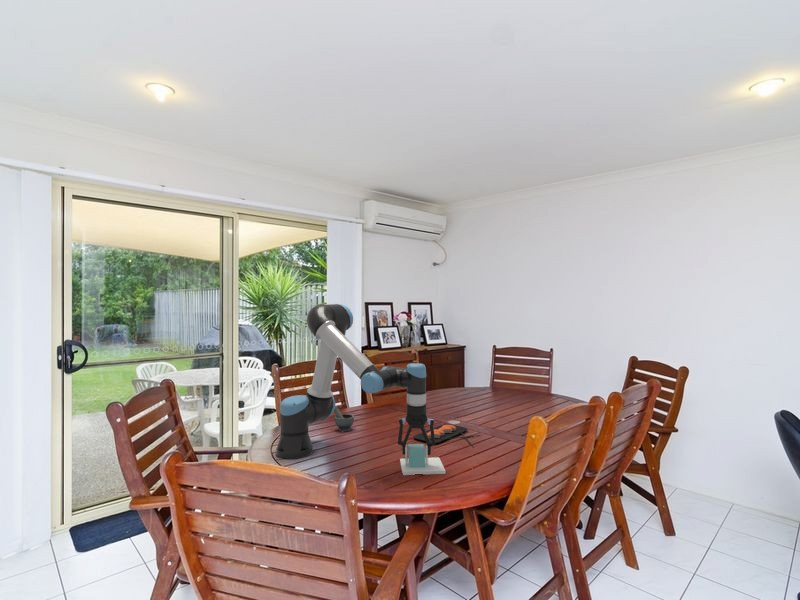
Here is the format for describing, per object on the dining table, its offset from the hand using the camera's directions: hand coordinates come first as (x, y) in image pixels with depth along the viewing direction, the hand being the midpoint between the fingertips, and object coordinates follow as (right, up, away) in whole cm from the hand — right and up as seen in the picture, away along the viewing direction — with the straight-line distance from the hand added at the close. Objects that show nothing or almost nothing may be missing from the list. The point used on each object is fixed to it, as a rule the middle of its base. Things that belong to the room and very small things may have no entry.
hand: (416, 462), depth 173 cm
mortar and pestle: (-35, -2, +50) cm, 61 cm away
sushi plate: (+19, -3, +37) cm, 41 cm away
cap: (0, -1, 0) cm, 1 cm away
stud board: (+2, -2, 0) cm, 3 cm away
